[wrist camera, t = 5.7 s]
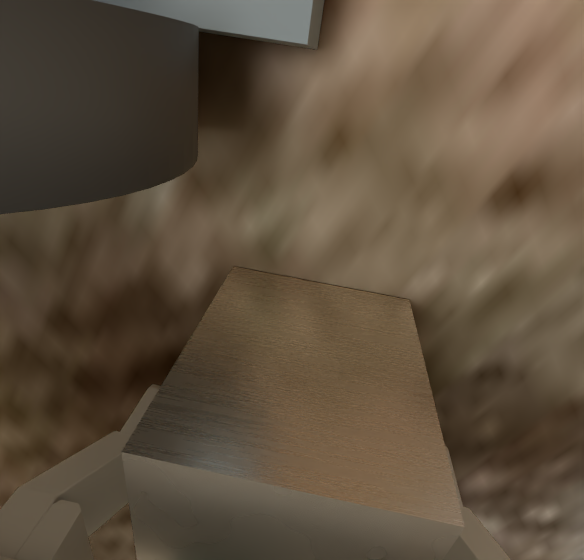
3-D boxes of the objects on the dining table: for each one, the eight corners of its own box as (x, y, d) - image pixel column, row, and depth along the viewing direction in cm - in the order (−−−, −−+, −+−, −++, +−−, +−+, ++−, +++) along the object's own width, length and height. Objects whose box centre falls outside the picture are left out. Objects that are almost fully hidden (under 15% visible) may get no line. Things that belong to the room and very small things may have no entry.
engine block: (354, 457, 14) (354, 686, 9) (222, 429, 14) (148, 635, 9) (409, 299, 10) (464, 527, 5) (233, 266, 11) (121, 452, 6)
